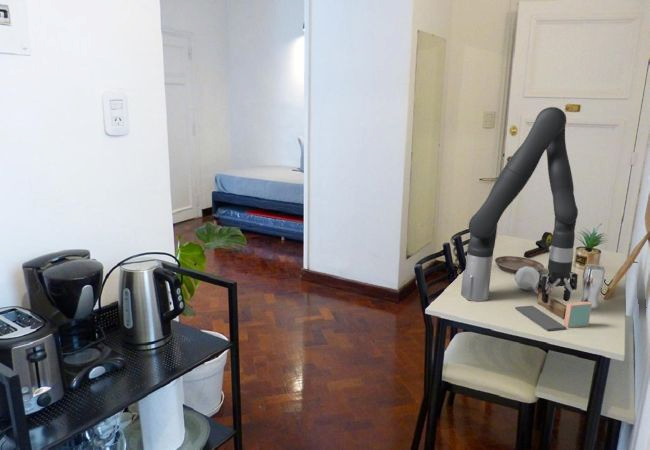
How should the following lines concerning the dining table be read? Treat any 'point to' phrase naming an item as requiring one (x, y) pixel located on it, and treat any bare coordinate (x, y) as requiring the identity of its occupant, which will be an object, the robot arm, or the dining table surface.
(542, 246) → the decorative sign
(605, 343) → the dining table surface
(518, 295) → the dining table surface
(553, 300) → the bar
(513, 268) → the plant saucer
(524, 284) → the potion bottle
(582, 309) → the glazed tile
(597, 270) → the silver upright cylinder
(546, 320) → the mat
